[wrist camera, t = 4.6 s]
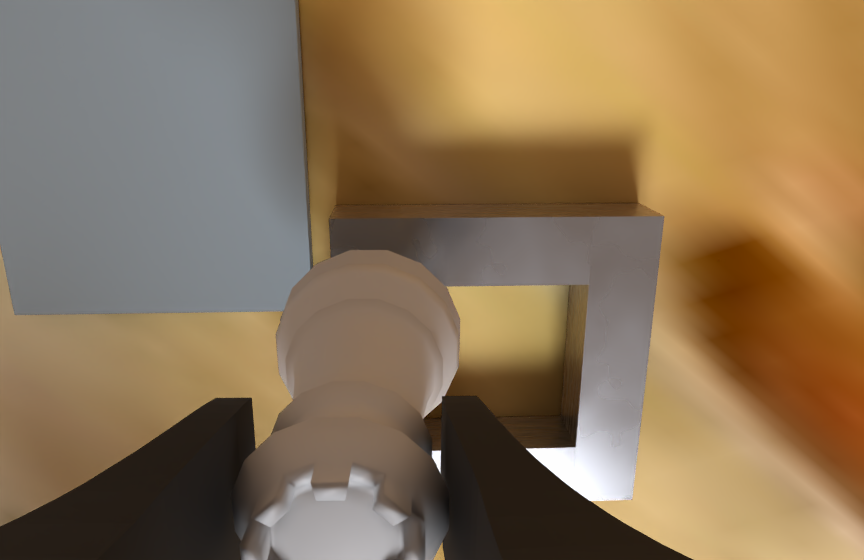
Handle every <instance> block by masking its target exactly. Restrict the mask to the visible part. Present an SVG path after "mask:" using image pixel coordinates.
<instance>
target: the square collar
mask: <svg viewBox="0 0 864 560" xmlns="http://www.w3.org/2000/svg"><path fill="white" fill-rule="evenodd" d="M663 223H664V216H663V215H661V214H659V213H657V212H655V211H653V210H651V209H649V208H647V207H645V206H643V205H642V204H640V203H586V204H435V205H336V206H335V208H334V210H333V212H332V214H331V216H330V218H329V229H330V250H331V258H332V257H334V256H337V255H339V254H342V253H344V252H347V251H349V250H388V251H391V252H393V253H396V254H399V255H401V256H404V257H406V258H409V259H411V260H414V261H416V262H419V263H421V264H422V265H423V266H424V267H426V268H427V269H428V270H429V271H430V272H431V273H432V274H433V275H434V276H435V277H436V278H437V279H438V280H439V281H440V282H441V283H442V284H443V285H444V286H514V285H570V290H569V304H568V318H567V333H566V347H565V361H564V375H563V389H562V403H561V416H521V417H496V418H497V419H498V420H499V421H500V422H501V423H502V424H503V425H504V426H505V428H506V429H507V430H508V431H509V432H510V433H511V434H512V435H513V436H514V437H515V438H516V439H517V440H518V441H519V442H520V443H521V444H522V445H523V446H524V447H525V448H526V449H527V450H528V451H529V452H530V453H531V454H532V455H533V456H534V457H535V458H536V459H538V460H539V461H540V462H541V463H542V464H543V465H544V466H546V467H547V468H548V469H549V470H550V471H552V472H553V473H554V474H555V475H556V476H557V477H559V478H560V479H561V480H562V481H564V482H565V483H566V484H567V485H569V486H570V487H571V488H573V489H574V490H575V491H577V492H578V493H579V494H581V495H582V496H584V497H585V498H587V499H588V500H590V501H601V500H632V496H633V488H634V479H635V470H636V461H637V452H638V443H639V435H640V426H641V417H642V408H643V399H644V391H645V382H646V373H647V364H648V355H649V346H650V338H651V329H652V320H653V311H654V302H655V293H656V285H657V276H658V267H659V258H660V249H661V241H662V232H663ZM423 421H424V423H425V425H426V427H427V429H428V431H429V433H430V435H431V438H432V458H433V459H434V461H435V463H436V465H437V467H438V469H439V471H440V462H441V418H431V419H423Z"/></svg>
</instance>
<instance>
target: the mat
mask: <svg viewBox="0 0 864 560" xmlns="http://www.w3.org/2000/svg"><path fill="white" fill-rule="evenodd" d="M0 246H1V251H2V256H3V261H4V266H5V270H6V275H7V280H8V285H9V290H10V295H11V299H12V304H13V309H14V314H15V315H51V314H122V313H192V312H263V311H284V308H285V306H286V303H287V300H288V298H289V295H290V292H291V290H292V288H293V287H294V286H295V285H296V284H297V283H298V282H299V281H300V280H301V279H302V278H303V277H304V276H305V275H306V274H307V273H308V272H309V271H310V270H311V269H312V268H313V257H312V239H311V221H310V203H309V186H308V168H307V150H306V132H305V114H304V96H303V78H302V60H301V42H300V25H299V7H298V0H0Z"/></svg>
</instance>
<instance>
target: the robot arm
mask: <svg viewBox="0 0 864 560" xmlns="http://www.w3.org/2000/svg"><path fill="white" fill-rule="evenodd" d="M255 450H256V448H255V435H254V422H253V409H252V398H215V399H213V400H212V401H210V402H208V403H206V404H205V405H203V406H202V407H200V408H199V409H197V410H196V411H194V412H193V413H191V414H190V415H188V416H187V417H186V418H184V419H183V420H181V421H180V422H178V423H177V424H175V425H174V426H173V427H171V428H170V429H168V430H167V431H165V432H164V433H162V434H161V435H159V436H158V437H156V438H155V439H153V440H152V441H151V442H149V443H148V444H146V445H145V446H143V447H142V448H140V449H139V450H137V451H136V452H134V453H133V454H131V455H129V456H128V457H126V458H124V459H123V460H121V461H120V462H118V463H116V464H115V465H113V466H112V467H110V468H108V469H107V470H105V471H103V472H102V473H100V474H99V475H97V476H95V477H94V478H92V479H91V480H89V481H87V482H86V483H84V484H82V485H80V486H79V487H77V488H75V489H73V490H72V491H70V492H68V493H66V494H64V495H63V496H61V497H59V498H57V499H55V500H53V501H51V502H49V503H47V504H45V505H43V506H41V507H39V508H38V509H36V510H34V511H32V512H30V513H28V514H26V515H24V516H22V517H20V518H18V519H16V520H13V521H11V522H9V523H7V524H5V525H3V526H0V560H241V555H240V543H241V540H240V538H239V537H238V535H237V533H236V532H235V528H234V519H233V510H232V501H231V493H232V491H233V488H234V486H235V483H236V480H237V478H238V475H239V473H240V470H241V467H242V465H243V462H244V460H245V459H246V458H247V457H248V456H249V455H250V454H251V453H253V452H254V451H255ZM440 474H441V476H442V478H443V480H444V482H445V484H446V486H447V488H448V490H449V493H450V506H449V530H448V532H447V534H446V535H445V537H444V539H443V551H444V557H445V560H693V559H691V558H689V557H687V556H685V555H683V554H681V553H679V552H676V551H674V550H672V549H670V548H668V547H666V546H664V545H662V544H661V543H659V542H657V541H655V540H653V539H651V538H650V537H648V536H646V535H644V534H643V533H641V532H639V531H637V530H635V529H634V528H632V527H630V526H628V525H627V524H625V523H623V522H622V521H620V520H618V519H617V518H615V517H613V516H612V515H610V514H609V513H607V512H605V511H604V510H603V509H601V508H600V507H598V506H597V505H595V504H594V503H592V502H591V501H590V500H588V499H587V498H585V497H584V496H582V495H581V494H579V493H578V492H577V491H575V490H574V489H573V488H571V487H570V486H569V485H567V484H566V483H565V482H564V481H562V480H561V479H560V478H559V477H557V476H556V475H555V474H554V473H553V472H552V471H550V470H549V469H548V468H547V467H546V466H544V465H543V464H542V463H541V462H540V461H539V460H538V459H536V458H535V457H534V456H533V455H532V454H531V453H530V452H529V451H528V450H527V449H526V448H525V447H524V446H523V445H522V444H521V443H520V442H519V441H518V440H517V439H516V438H515V437H514V436H513V435H512V434H511V433H510V432H509V431H508V430H507V429H506V428H505V426H504V425H503V424H502V423H501V422H500V421H499V420H498V419H497V418H496V417H495V415H494V414H493V413H492V412H491V411H490V410H489V409H488V408H487V406H486V405H485V404H484V403H483V402H482V401H481V400H480V399H479V398H478V397H477V396H442V417H441V462H440Z"/></svg>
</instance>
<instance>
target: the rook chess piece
mask: <svg viewBox="0 0 864 560" xmlns="http://www.w3.org/2000/svg"><path fill="white" fill-rule="evenodd" d="M280 321H281V322H280V324H279V327H278V330H277V332H276V344H277V357H278V369H279V374H280V376H281V378H282V380H283V382H284V384H285V386H286V387H287V389H288V391H289V393H290V395H291V397H292V398H293V401H292V402H291V403H290V404H289V405H288V406H287V407H286V408H285V409H284V410H283V411H282V412H281V413H279V415H278V418H277V421H276V423H275V426H274V428H273V431H272V433H271V436H270V437H269V438H267V439H266V440H265V441H264V442H263V443H262V444H261V445H260V446H259V447H258V448H257V449H256V450H255V451H254V452H253V453H251V454H250V455H249V456H248V457H247V458H246V459H245V460H244V462H243V465H242V467H241V470H240V473H239V475H238V478H237V480H236V483H235V486H234V488H233V491H232V493H231V501H232V510H233V519H234V528H235V532H236V533H237V535H238V537H239V538H240V540H241V543H240V555H241V560H433V559H434V557H435V555H436V553H437V551H438V549H439V547H440V545H441V543H442V541H443V539H444V537H445V535H446V534H447V532H448V530H449V506H450V493H449V490H448V488H447V486H446V484H445V482H444V480H443V478H442V476H441V474H440V471H439V469H438V467H437V465H436V463H435V461H434V459H433V458H432V438H431V435H430V433H429V431H428V429H427V427H426V425H425V423H424V421H423V418H424V417H425V416H426V415H427V414H429V413H430V412H431V411H432V410H433V409H434V408H435V407H437V406H438V405H439V404H440V403H441V402H442V396H445V394H446V392H447V390H448V388H449V386H450V384H451V382H452V380H453V378H454V376H455V374H456V372H457V369H458V367H459V344H460V318H459V315H458V313H457V311H456V308H455V306H454V303H453V301H452V299H451V296H450V294H449V292H448V289H447V288H446V287H445V286H444V285H443V284H442V283H441V282H440V281H439V280H438V279H437V278H436V277H435V276H434V275H433V274H432V273H431V272H430V271H429V270H428V269H427V268H426V267H424V266H423V265H422V264H421V263H419V262H416V261H414V260H411V259H409V258H406V257H404V256H401V255H399V254H396V253H393V252H391V251H388V250H349V251H347V252H344V253H342V254H339V255H337V256H334V257H332V258H329V259H327V260H324V261H322V262H319V263H317V264H316V265H315V266H314V267H313V268H312V269H311V270H310V271H309V272H308V273H307V274H306V275H305V276H304V277H303V278H302V279H301V280H300V281H299V282H298V283H297V284H296V285H295V286H294V287H293V288H292V290H291V292H290V295H289V298H288V300H287V303H286V306H285V308H284V311H283V314H282V316H281V319H280Z"/></svg>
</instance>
